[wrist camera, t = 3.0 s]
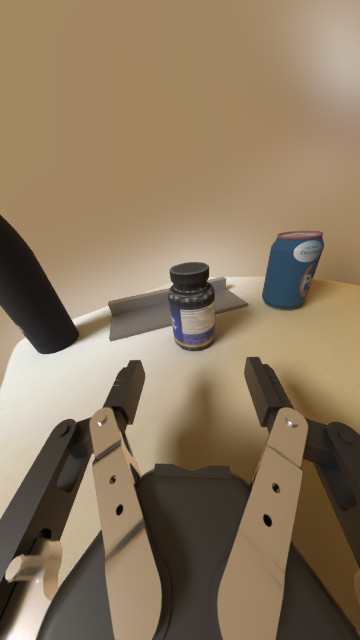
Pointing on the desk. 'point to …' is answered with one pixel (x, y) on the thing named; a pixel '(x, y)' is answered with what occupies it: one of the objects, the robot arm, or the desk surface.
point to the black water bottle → (31, 295)
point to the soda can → (291, 268)
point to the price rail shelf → (159, 310)
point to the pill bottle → (192, 306)
